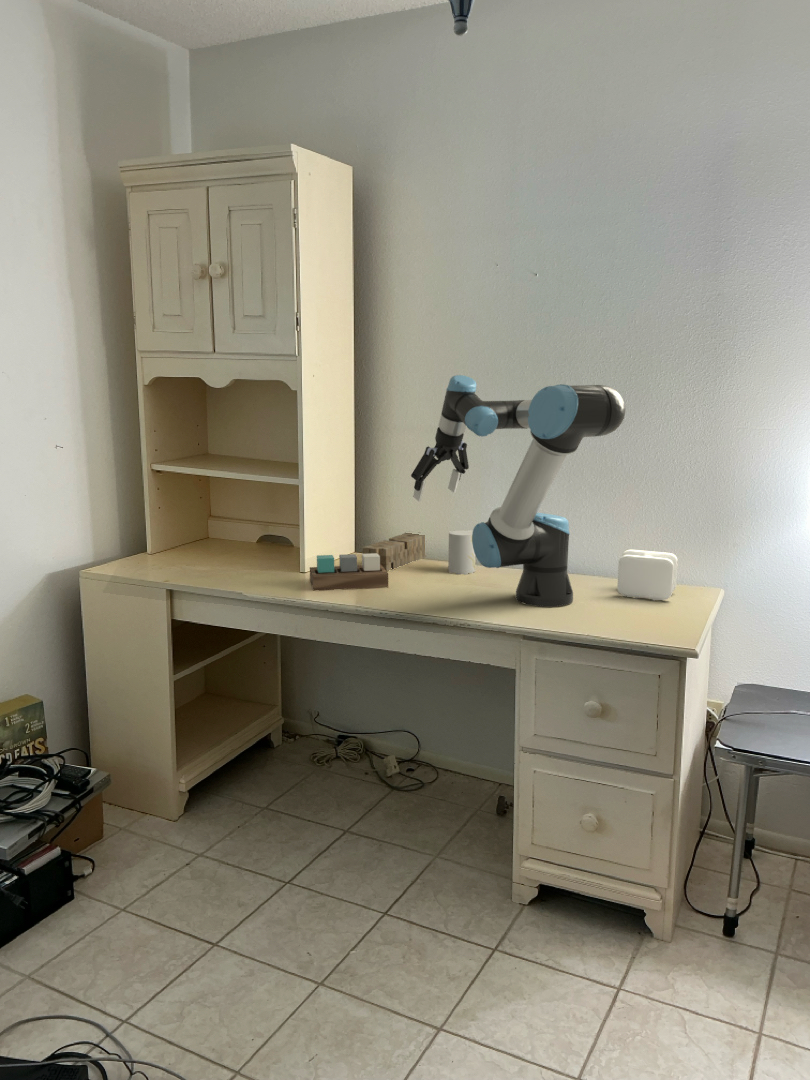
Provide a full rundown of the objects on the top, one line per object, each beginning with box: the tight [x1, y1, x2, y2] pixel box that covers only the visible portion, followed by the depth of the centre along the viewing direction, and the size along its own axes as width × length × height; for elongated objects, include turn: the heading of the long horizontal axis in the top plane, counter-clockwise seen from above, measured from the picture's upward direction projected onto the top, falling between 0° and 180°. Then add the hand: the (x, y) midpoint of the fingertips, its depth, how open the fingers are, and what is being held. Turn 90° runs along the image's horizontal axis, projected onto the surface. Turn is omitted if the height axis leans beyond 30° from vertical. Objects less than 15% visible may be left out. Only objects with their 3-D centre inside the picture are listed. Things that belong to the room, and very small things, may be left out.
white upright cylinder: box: [447, 529, 476, 575], centre depth 266 cm, size 8×8×12 cm
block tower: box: [361, 531, 427, 572], centre depth 278 cm, size 8×8×29 cm
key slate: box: [338, 553, 358, 572], centre depth 249 cm, size 4×4×4 cm
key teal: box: [316, 554, 335, 573], centre depth 248 cm, size 4×4×4 cm
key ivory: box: [361, 553, 380, 571], centre depth 250 cm, size 4×4×4 cm
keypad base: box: [309, 564, 389, 591], centre depth 250 cm, size 12×21×4 cm, turn 101°
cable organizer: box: [616, 549, 679, 601], centre depth 238 cm, size 15×11×12 cm
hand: (434, 494), depth 255 cm, fingers open, 13 cm apart
